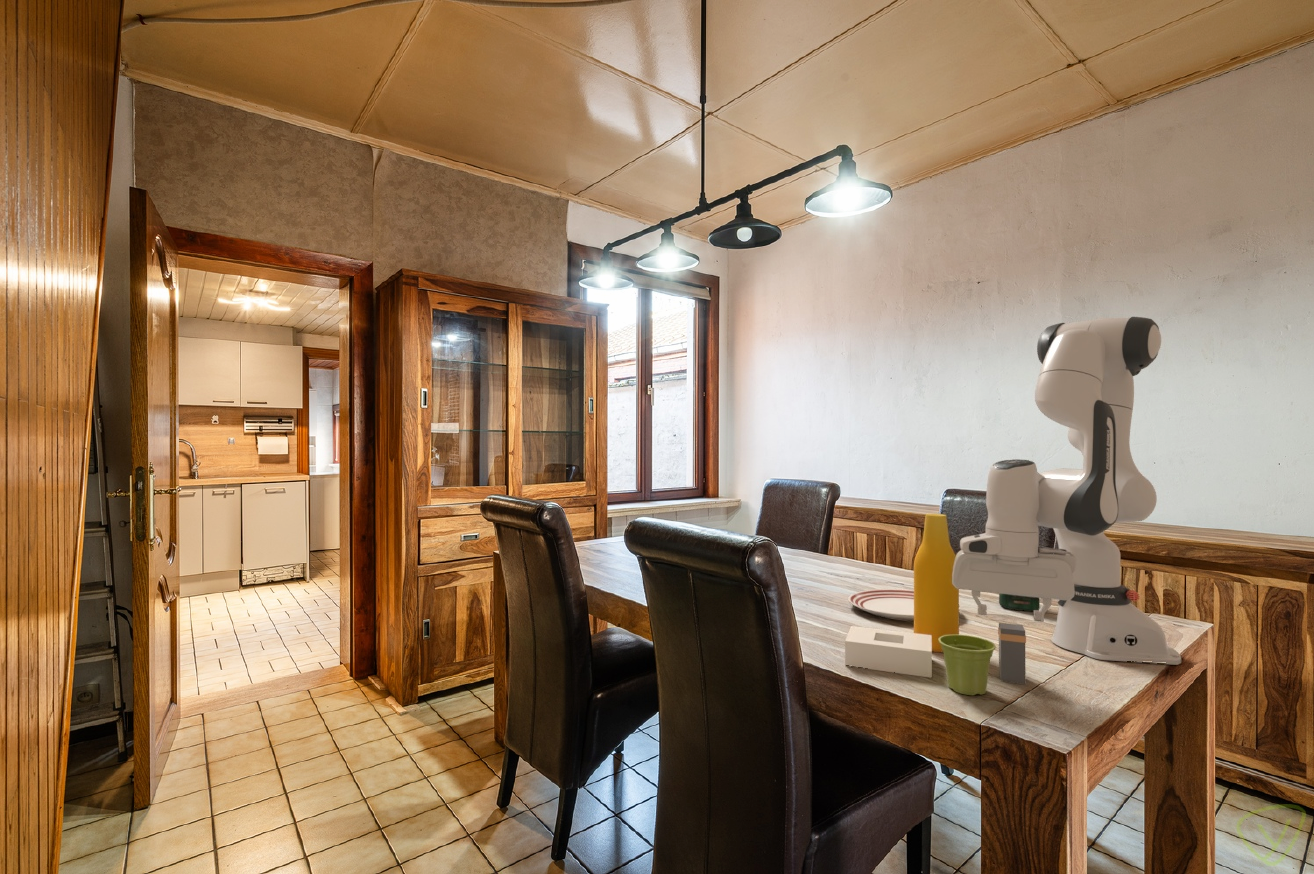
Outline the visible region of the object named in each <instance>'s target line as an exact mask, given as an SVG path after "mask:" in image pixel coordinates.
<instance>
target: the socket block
mask: <svg viewBox="0 0 1314 874" xmlns="http://www.w3.org/2000/svg"><path fill="white" fill-rule="evenodd" d="M932 654H933V651H932V638H931V635H926V634H917V633H914V632H908V631H907V632H906V631H898V630H889V629H882V628H881V629H880V628H879V629H878V628H872V627H863V626H855V625H851V626H850V628H849V631H848V633H847V635H846V637H845V640H844V666H845V665H852V666H856V667H855V668H858V667H863V668H862V669H865V668H868V669H867V670H872V671H873V670H874V671H880V672H886V673H887V672H888V673H894V672H895V673H894V674H902V675H909V676H916V677H921V678H922V677H924V678H930V679H931V678H932V677H933V675H932V674H933V673H932V672H933V670H932V669H933V667H932V666H933V665H932V664H933V662H932V661H933V660H932V659H933V658H932V656H933V655H932Z"/></svg>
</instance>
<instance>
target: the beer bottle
mask: <svg viewBox="0 0 1314 874" xmlns="http://www.w3.org/2000/svg"><path fill="white" fill-rule="evenodd" d="M922 535H923V536H922V541H921V544H920V546H919V548H918V550H917V553H916V554H915V557H914V562H913V590H914V621H913V633H917V634H926V635H931V638H932V652H935V653H944V652H943V650H942V647H941V644H940V643H939V640H938V639H939V638H940V637H941V636H944V635H960V589H957V588H955V587H954V585H953V584H952V572H953V565H954V561H955V557H956V555H957V554H956V553H955V551H954V550H953V547H952V546H951V541H950V535H949V527H948V519H947V514H942V513H926V514H925V517H924V526H923V534H922Z"/></svg>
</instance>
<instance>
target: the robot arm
mask: <svg viewBox="0 0 1314 874" xmlns="http://www.w3.org/2000/svg"><path fill="white" fill-rule="evenodd" d="M1160 331H1161V330H1160V328H1159V325H1158V324H1157V323H1156V322H1155V321H1154V320H1153V319H1152V318H1149V317H1142V316H1130V317H1099V318H1098V317H1097V318H1094V319H1086V320H1080V321H1073V322H1069V323H1068V322H1067V323H1065V322H1061V323H1060V322H1059V323H1056V324H1051V325H1049V326H1047V327H1046V328H1045V329H1044V330H1043V331H1042V332H1041V333H1040V335H1039V337H1038V340H1037V346H1036V348H1037V349H1036V351H1037V357H1038V360H1039V362H1040V363H1041V364H1042V365H1041V366H1040V367H1041V368H1040V371H1039V374H1038V379H1037V381H1036V385H1035V390H1034V402H1035V405H1036V406H1037V408H1038V410H1039V411H1040V412H1041V413H1042V414H1043V415H1044V416H1045V417H1047V418H1048V419H1049V420H1051V421H1053V422H1055V423H1057V424H1060V425H1062V426H1064V427H1067V428H1068V433H1067V440H1068V441H1069V443H1070V445H1071V446H1073V448H1074V449H1077V450H1078V451H1079V452H1081V455H1082V456H1083V461H1082V462H1083V463H1082V468H1056V469H1049V470H1046V471H1042V472H1041V473H1039V472H1038V468H1037V465H1036V464H1037V463H1035V462H1034V461H1032V460H1029V459H1016V458H1015V459H1004V460H1000V461H997V462H995V463H993V464H992V465H991V467H990V470H989V473H988V477H987V484H986V496H985V505H986V509H987V520H986V522H985V532H984V533H980V534H975V535H969V536H968V535H967V536H964V537H962V538H961V539H960V541H959V548H960V550H959V551H958V552H957V553H956V554H955V555H956V557H955V561H954V565H953V572H952V584H953V585H954V587H955V588H957V589H959V590H964V591H971V596H972V598H973V599H974V602H975V604H976V605H977V615H979V616H987V609H988V608H987V607H988V606H987V604H984V603H983V604H982V602H981V601H980V597H981V592H982V593H993V594H999V593H1000V594H1010V595H1019V596H1029V597H1038V598H1039V599H1040V601H1041V603H1042V605H1041V606H1040V608H1039V610H1034V611H1033V621H1034V622H1038V623H1039V622H1040V623H1045V614H1046V613H1047V611H1048V610H1049V609H1050V608H1051V606H1052V600H1056V601H1057V604H1058V608H1057V609H1058V611H1057V618H1056V622H1055V626H1054V627H1055V628H1054V631H1053V634H1052V636H1051V638H1050V640H1051V642H1052V643H1053V644H1054V645H1056V646H1057V647H1061V648H1063V649H1065V650H1068V651H1071V652H1075V653H1079V654H1081V655H1085V656H1088V657H1090V658H1092V659H1096V660H1101V661H1112V662H1113V661H1116V662H1127V661H1131V663H1142V662H1143V661H1152V662H1166V663H1168V664H1167V665H1174V666H1175V665H1176V666H1178V665H1180V664H1182V656H1181V654H1180V653H1179V652H1178V651H1177V649H1174V648H1173V647H1171V646H1169V645H1168V643H1167V642H1168V641H1167V638H1166V634H1165V631H1164V630H1163V628H1162V627H1161V625H1160V624H1159V623H1158V622H1157V621H1155V619H1153V618H1152V617H1150V616H1149V615H1148V614H1146V613H1144V611H1142V610H1141V609H1139V608H1138V607H1136V605H1134V604H1132V602H1138V601H1139V600H1140V598H1141V595H1140V594H1139V593H1138V592H1137V591H1136V590H1133V589H1130V588H1128V587H1126V586H1124V585H1123V584H1121V581H1122V580H1121V579H1122V578H1121V576H1122V575H1121V569H1122V568H1121V552H1120V551H1121V550H1120V549H1119V547H1118V545H1117V544H1116V543H1115V542H1114V541H1112V540H1111V539H1110V538H1109V537H1107V536H1106V535H1105V533H1104V532H1106V530H1108V529H1110V528H1112V526H1113V525H1114V524H1115V523H1116V524H1119V523H1120V524H1122V523H1134V522H1135V523H1136V522H1137V523H1138V522H1141V521H1144V520H1146V519H1148V517H1150V516H1151V515H1152V513H1153V512H1154V510H1155V508H1156V506H1157V501H1158V500H1157V498H1158V497H1157V492H1156V489H1155V487H1154V485H1153V483H1151V481H1150V480H1149V479H1148V478H1147V477H1145V476H1144V475H1143V474H1142V472H1140V471H1139V469H1138V467H1137V466H1136V463H1135V462H1134V459H1133V456H1132V452H1131V446H1130V439H1131V438H1130V437H1131V425H1132V419H1133V410H1134V404H1135V403H1134V402H1135V385H1134V383H1135V382H1134V377H1135V376H1138V375H1139V374H1140V373H1141V371H1142V370H1143V369H1145V368H1147V367H1149V366H1150V365H1151V364H1152V363H1153V362H1154V361H1155V360H1156V358H1158V357H1157V356H1158V354H1159V352H1160V350H1161V344H1162V335H1161V332H1160ZM1039 527H1044V528H1048V529H1049V528H1050V529H1053V532H1054V536H1056V537H1055V538H1056V541H1057V547H1058V548H1053V547H1043V546H1039V543H1040V542H1039V538H1040V537H1039V533H1040V532H1039V531H1040V529H1039ZM1132 661H1134V662H1132ZM1135 661H1137V662H1135Z"/></svg>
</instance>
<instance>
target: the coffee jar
mask: <svg viewBox="0 0 1314 874" xmlns="http://www.w3.org/2000/svg"><path fill="white" fill-rule="evenodd" d="M1040 601H1041V600H1040V598H1038V597H1029V596H1019V595H1010V594H1000V593H998V603H999V606H1000V607H1003V608H1004V609H1010V610H1014V609H1015V611H1023V610H1024V611H1025V612H1034V610H1039V609H1040V607H1041V606H1040V605H1041V604H1040Z"/></svg>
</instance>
